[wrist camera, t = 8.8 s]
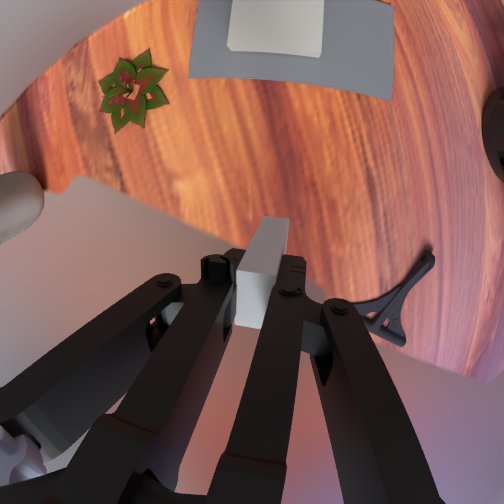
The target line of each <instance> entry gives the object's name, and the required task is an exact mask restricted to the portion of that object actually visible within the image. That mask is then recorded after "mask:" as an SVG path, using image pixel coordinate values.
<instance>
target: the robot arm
mask: <svg viewBox="0 0 504 504" xmlns="http://www.w3.org/2000/svg"><path fill="white" fill-rule="evenodd" d="M482 133H483V141H484V147H485V151H486V154H487V157H488V160H489V162H490V165H491V167H492V169H493V170H494V172H495V174H496V175H497V176H498V178H499V179H500V180H501V181H502V182H504V88H499V89H497V90H495V91H494V92H493V93H492V94H491V95H490V96H489V98H488V100H487V102H486V104H485V107H484V112H483V119H482ZM288 227H289V219H287V218H279V217H271V216H263V218H262V220H261V222H260V224H259V226H258V228H257V230H256V232H255V234H254V236H253V238H252V240H251V242H250V244H249V246H248V248H247V250H243V249H235V248H232V249H230V250H228V251H227V252H226V253H225V254H224V255H219V254H214V255H208V256H205V257H203V258H202V259H201V279H200V280H199V282H198V283H196V284H181V279H180V278H179V276H177V275H174V274H170V273H163V274H159V275H156V276H154V277H152V278H151V279H149V280H148V281H146V282H145V283H144V284H142V285H141V286H139V287H138V288H136V289H135V290H133V291H132V292H131V293H129V294H128V295H126V296H125V297H123V298H122V299H121V300H119V301H118V302H116V303H115V304H113V305H112V306H111V307H109V308H108V309H107V310H105V311H103V312H102V313H101V314H99V315H98V316H96V317H95V318H94V319H92V320H91V321H90V322H88V323H87V324H85V325H84V326H83V327H81V328H80V329H79V330H77V331H76V332H74V333H73V334H72V335H70V336H69V337H68V338H66V339H65V340H64V341H62V342H61V343H60V344H58V345H57V346H56V347H54V348H53V349H52V350H50V351H49V352H48V353H46V354H45V355H44V356H42V357H41V358H40V359H38V360H37V361H36V362H34V363H33V364H32V365H31V366H29V367H28V368H27V369H25V370H24V371H23V372H22V373H20V374H19V375H18V376H16V377H15V378H14V379H13V380H12V381H10V382H9V383H8V384H6V385H5V386H3V387H1V388H0V504H281V499H282V493H283V489H284V483H285V477H286V469H287V465H286V457H287V450H288V444H289V438H290V430H291V425H292V417H293V410H294V403H295V395H296V387H297V379H298V370H299V362H300V352H301V351H304V352H306V353H309V354H310V360H311V364H312V368H313V372H314V376H315V380H316V384H317V388H318V391H319V395H320V400H321V404H322V408H323V412H324V416H325V420H326V425H327V429H328V433H329V437H330V442H331V445H332V450H333V455H334V459H335V464H336V468H337V472H338V477H339V482H340V486H341V491H342V495H343V501H344V504H446V503H445V502H444V501H443V500H442V499H441V498H440V497H439V494H438V491H437V488H436V485H435V482H434V479H433V477H432V474H431V471H430V468H429V466H428V463H427V460H426V458H425V455H424V453H423V450H422V448H421V445H420V443H419V440H418V438H417V435H416V433H415V430H414V428H413V426H412V423H411V421H410V419H409V416H408V414H407V412H406V409H405V407H404V405H403V403H402V401H401V398H400V396H399V394H398V392H397V389H396V387H395V385H394V383H393V381H392V379H391V376H390V374H389V372H388V370H387V368H386V366H385V364H384V362H383V360H382V358H381V356H380V354H379V352H378V350H377V348H376V346H375V344H374V342H373V340H372V338H371V336H370V334H369V332H368V330H367V328H366V326H365V324H364V322H363V320H362V318H361V316H360V314H359V313H358V311H357V309H356V307H355V306H354V305H353V304H352V303H350V302H349V301H347V300H344V299H339V298H332V299H328V300H326V301H325V302H324V303H323V304H320V303H317V302H315V301H313V300H311V299H310V298H309V297H308V296H307V295H306V293H305V278H306V261H305V260H304V258H303V257H300V256H292V255H285V254H286V245H287V236H288ZM154 317H155V322H153V323H152V324H150V320H152V319H153V318H154ZM234 318H235V325H240V326H246V327H251V328H258V329H261V331H260V334H259V338H258V342H257V345H256V349H255V353H254V356H253V360H252V363H251V367H250V370H249V374H248V377H247V381H246V384H245V387H244V391H243V394H242V398H241V401H240V404H239V408H238V411H237V414H236V418H235V421H234V425H233V428H232V431H231V434H230V437H229V441H228V444H227V447H226V449H225V451H224V453H222V455H221V457H220V459H219V461H218V464H217V467H216V470H215V473H214V476H213V479H212V482H211V485H210V488H209V491H208V493H207V495H193V494H180V493H175V492H174V491H175V488H176V485H177V481H178V472H179V467H180V464H181V461H182V459H183V456H184V454H185V451H186V449H187V446H188V444H189V441H190V439H191V436H192V434H193V431H194V429H195V426H196V424H197V421H198V419H199V416H200V413H201V411H202V409H203V406H204V403H205V401H206V398H207V396H208V393H209V391H210V388H211V385H212V383H213V380H214V378H215V375H216V373H217V370H218V368H219V365H220V362H221V360H222V357H223V355H224V352H225V349H226V347H227V344H228V342H229V339H230V336H231V333H232V323H233V320H234ZM127 391H128V392H127ZM126 392H127V394H126V395H125V397H124V398H123V400H122V402H121V403H120V405H119V406H118V408H117V410H116V411H115V412H114V413H112V414H105V413H106V412H107V411H108V410H109V409H110V408H111V407H112V406H113V405H114V404H115V403H116V402H117V401H118V400H119V399H120V398H121V397H122V396H123V395H124V394H125V393H126ZM90 427H91V428H90ZM89 428H90V430H89V431H88V433H87V434H86V436H85V438H84V439H83V441H82V443H81V444H80V446H79V447H78V449H77V451H76V452H75V454H74V456H73V457H72V459H71V461H70V462H69V464H68V466H67V467H66V468H63V469H60V470H57V471H55V472H51V473H48V474H46V472H47V471H46V467H45V466H44V465H43V464H44V463H46V462H48V461H50V460H52V459H54V458H56V457H57V456H59V455H60V454H62V453H63V452H64V451H65V450H67V449H68V448H69V447H70V446H72V444H74V443H75V442H76V441H77V440H78V439H79V438H80V437H81V436H82V435H83V434H84V433H85V432H86V431H87V430H88V429H89Z"/></svg>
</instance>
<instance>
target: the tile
mask: <svg viewBox="0 0 504 504" xmlns="http://www.w3.org/2000/svg"><path fill="white" fill-rule="evenodd" d="M323 14H324V0H233V1H232V9H231V16H230V24H229V32H228V40H227V46H228V48H229V49H230V50H231V51H249V52H269V53H282V54H292V55H301V56H308V57H316V58H319V57H320V55H321V49H322V33H323Z"/></svg>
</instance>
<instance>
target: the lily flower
mask: <svg viewBox="0 0 504 504" xmlns="http://www.w3.org/2000/svg"><path fill="white" fill-rule="evenodd" d="M149 52H150V48H149V49H148V50H147V51H146V52H144V53H143V54H142V55H140V56H138V57H137V58H136V59H135V60H134V61H133V62H132V64H130V63H128V62H127V61H124V60H121V59H120V58H119V61H118V63H117V66H116V67H115V69H114V71H113V74H111V75H109V76H107V77H105V78H104V79H103V80H102V81H101V80H100V81H98V82H99V84H100V87H102V88H101V89H102V92H103V93H104V94H105V97H104V96H103V97H104V98H103V101H102V105H101V109H100V111H99V112H105V113H112V116H111V118H112V124H113V127H114V129H115V131H114V132H115V134H116V132H118V131H119V130H120V128H122V127H123V126H124V125H125V124H126V123H127V122H128V121H129V120H130V121H131V122H133V123H135V124H137V125H141V126H142V127H143V128H144V122H145V120H144V118H145V110H149V109H154V108H158V107H161V106H163V105H164V104H165V105H167V104H169V103H168V102H167V100H166V98H165V97H164V95H163V93H162V91H161V90H160V89H159V88H158V87H157V86H156V85H157V83H158V82H159V81H160V80H161V78H162V77H163V75H164V73H166V72H167V71H168V70H164V69H159V70H158V69H157V68H151V58H150V54H149ZM141 67H142V70H141V71H140V72H139V73H138V74H137V76H136V72H137V71H138V70H139V69H140V68H141ZM129 83H132V84H133V83H135V84H138V85H140V88H139V91H138V94H137V96H136V98H135V100H131V99H127V97H128V96H129V95H130V94H131V93H132V92H133V91H132V90H133V89H132V84H131V86H130V84H129ZM114 84H115V85H116V86H117V87H116V88H113V86H111V85H114ZM127 84H128V85H129V87H130V89H129V88H127V87H126V86H127ZM125 88H126V89H125ZM126 93H129V94H128V95H127V97H126V98H125V97H123V95H124V94H126ZM147 93H150V95H151V97H153V98H151V99H148V100H145V97H144V94H147ZM123 107H124V115H123V116H122V118H121V109H122V108H123ZM120 119H121V120H120Z"/></svg>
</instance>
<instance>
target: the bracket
mask: <svg viewBox="0 0 504 504" xmlns="http://www.w3.org/2000/svg"><path fill="white" fill-rule="evenodd" d="M425 257H426V258H425ZM424 258H425V260H424ZM423 260H424V262H423ZM434 264H435V256H434V255H433V254H432V253H430V252H429V251H425V252H424V254H423V255H422V257H421V258H420V260H419V261H418V262H417V264H416V265H415V267H414V268H413V269H412V271H411V272H410V273H409V275H408V276H407V277H406V279H405V280H404V281H403V283H402V284H401V285H399V286H398V287H396V288H395V289H394V290H393V291H391V292H390V293H388V294H387V295H385V296H383V297H381V298H379V299H376V300H373V301H369V302H364V303H352V304H353V305H354V306H355V307H356V309H357V311H358V313H359V314H360V316H361V318H362V320H363V322H364V324H365V326H366V328H367V330H368V331H369V332H371V333H373V334H375V335H377V336H379V337H381V338H383V339H385V340H387V341H390V342H392V343H394V344H396V345H398V346H400V347H403V346H404V345H405V343H406V338H405V334H404V332H403V330H402V327H401V322H400V313H401V309H402V305H403V302H404V300H405V298H406V296H407V294H408V292H409V291H410V290H411V289H412V287H413V286H414V285H415V284H416V283H417V282H418V281H419V280H420V279H421V278H422V277H423V276H424V275H425V274H426V273H427V272H429V271H430V270H431V269H432V268H433V266H434ZM370 312H379V313H378V314H377V315H376V316H375V317H374V318H373V319H372V320H369V319H367V318H365V317H364V316H365V315H366V314H368V313H370ZM387 317H388V318H389V324H388V326H387V327H386V328H385V327H383V326H381V325H382V324H383V322H384V321H385V320H386V318H387Z"/></svg>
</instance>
